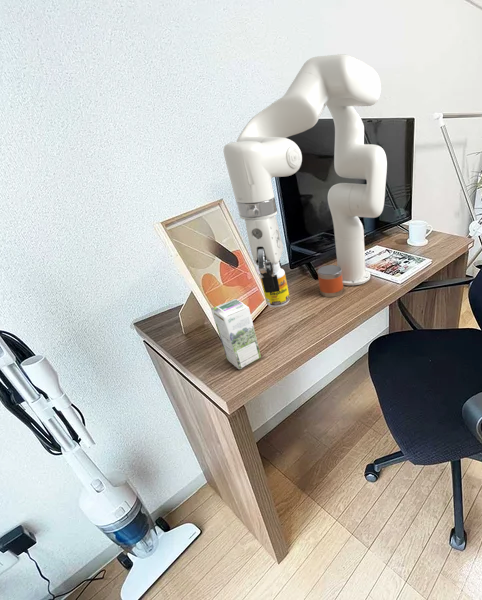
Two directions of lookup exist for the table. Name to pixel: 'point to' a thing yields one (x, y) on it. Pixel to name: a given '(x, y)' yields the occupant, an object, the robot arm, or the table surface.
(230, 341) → the syrup box
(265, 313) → the table surface
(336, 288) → the tin can
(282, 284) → the supplement bottle
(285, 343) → the table surface
